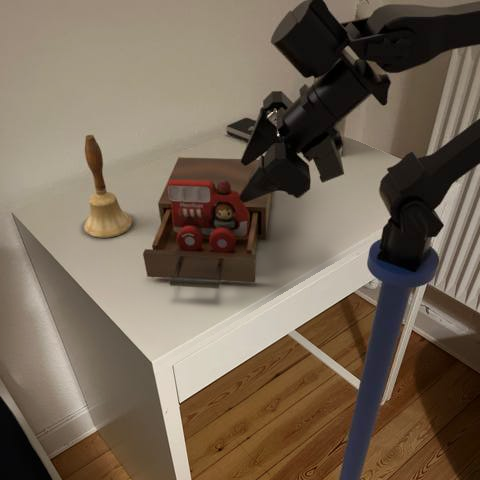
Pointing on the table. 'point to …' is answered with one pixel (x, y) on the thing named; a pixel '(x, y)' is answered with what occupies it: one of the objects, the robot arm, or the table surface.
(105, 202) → the hand bell
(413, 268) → the robot arm
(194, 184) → the toy fire truck
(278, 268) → the table surface
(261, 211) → the cabinet
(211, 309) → the table surface
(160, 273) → the drawer
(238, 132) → the external hard drive
